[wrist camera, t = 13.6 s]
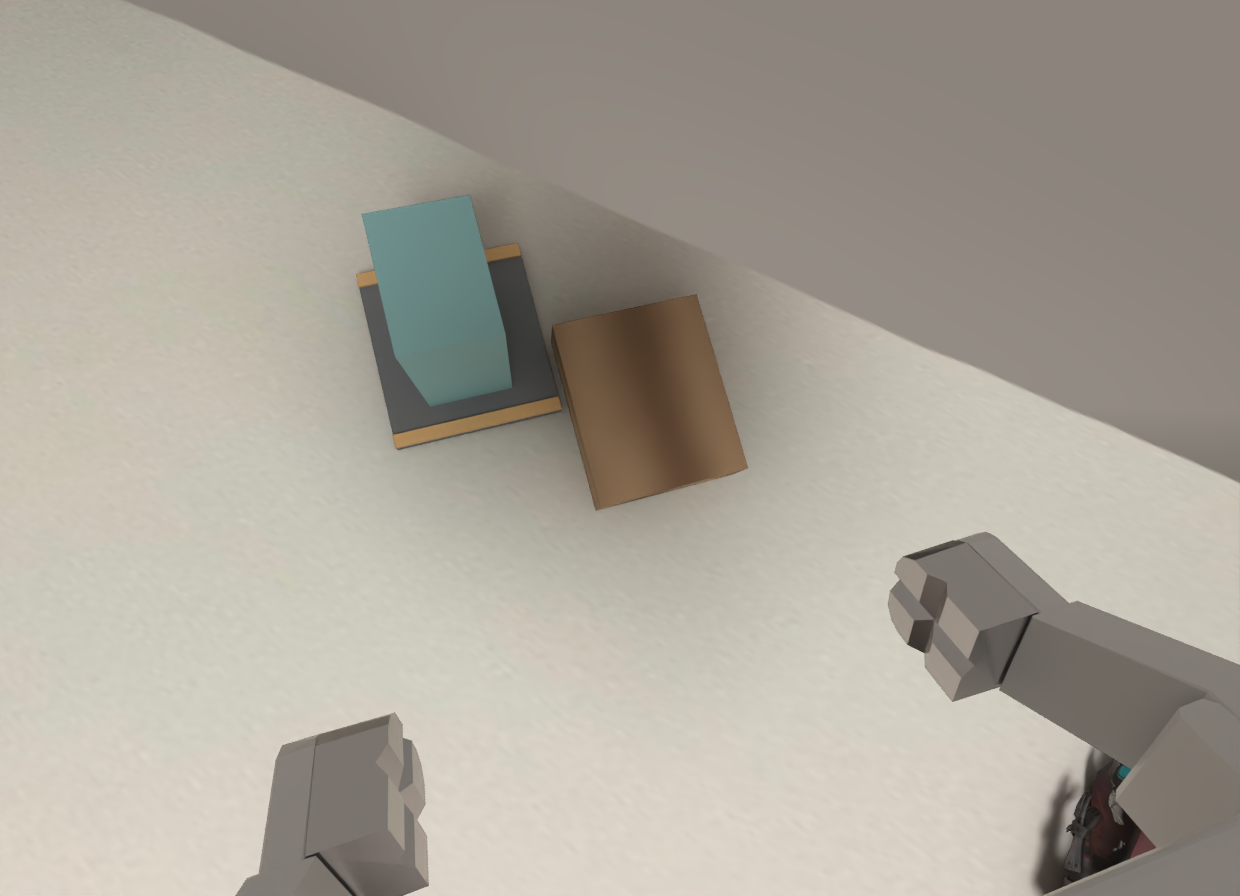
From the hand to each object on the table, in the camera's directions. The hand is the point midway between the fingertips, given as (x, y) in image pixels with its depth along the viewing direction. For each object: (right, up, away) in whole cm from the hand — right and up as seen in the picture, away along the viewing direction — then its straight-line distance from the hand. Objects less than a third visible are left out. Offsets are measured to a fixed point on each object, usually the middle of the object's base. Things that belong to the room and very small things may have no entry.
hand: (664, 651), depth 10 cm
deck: (+1, +6, +31) cm, 31 cm away
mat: (-11, +9, +30) cm, 33 cm away
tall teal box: (-11, +10, +29) cm, 33 cm away
